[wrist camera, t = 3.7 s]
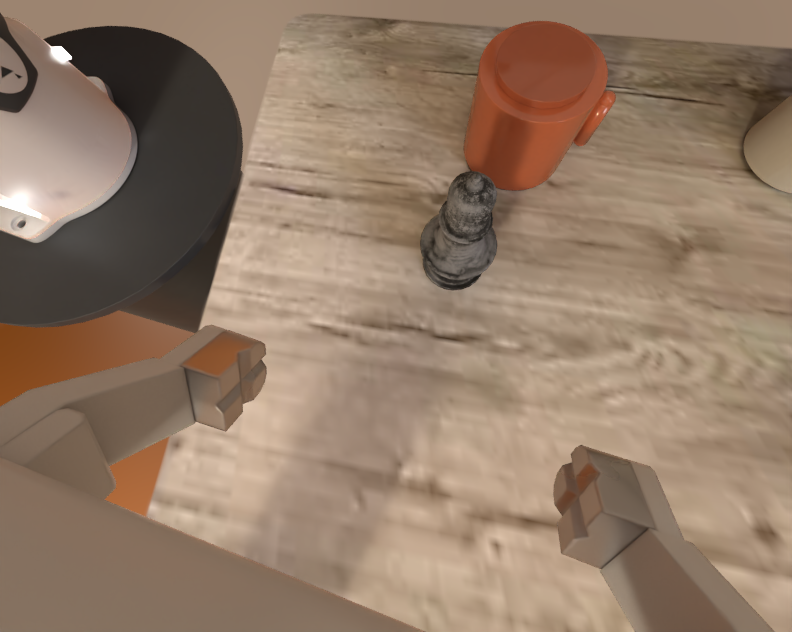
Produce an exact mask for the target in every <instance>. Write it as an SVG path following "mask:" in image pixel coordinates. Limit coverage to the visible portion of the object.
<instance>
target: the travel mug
mask: <svg viewBox="0 0 792 632" xmlns="http://www.w3.org/2000/svg"><path fill="white" fill-rule="evenodd" d="M744 154H745V158H746V160H747V163H748V164H749V166H750V168H751V169H752V171H753V172H754V173H755V174H756V175H757V176H758V177H759V178H760V179H761V180H763V181H764V182H765V183H767V184H769V185H770V186H772V187H774V188H776V189H779V190H781V191H784V192H788V193H792V95H791V96H790V97H788V98H787V99H786V100H785V101H783V102H782V103H781V104H780V105H779V106H777V107H776V108H775V109H774V110H772V111H771V112H770V113H769V114H767V115H766V116H765V117H764V118H762V119H761V120H760V121H759V122H757V123H756V124H755V125H754V126H753V127H752V128H751V129H750V130H749V131H748V133H747V135H746V137H745V140H744Z"/></svg>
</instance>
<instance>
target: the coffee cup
mask: <svg viewBox="0 0 792 632" xmlns="http://www.w3.org/2000/svg"><path fill="white" fill-rule="evenodd" d="M607 78H608V68H607V64H606V60H605V58H604V55H603V53H602V52H601V50H600V49H599V47H598V46H597V45H596V43H595V42H594V41H593V40H591V39H590V38H589V37H588V36H587V35H585V34H584V33H582V32H581V31H579V30H577V29H575V28H573V27H571V26H567V25H565V24H561V23H557V22H550V21H533V22H526V23H521V24H518V25H515V26H512V27H510V28H508V29H506V30H504V31H502V32H501V33H500V34H498V35H497V36H496V37H495V38H494V39H492V40H491V42H490V43H489V44H488V45H487V47H486V48H485V50H484V52H483V54H482V56H481V59H480V64H479V69H478V74H477V79H476V84H475V89H474V94H473V99H472V104H471V109H470V115H469V120H468V125H467V130H466V135H465V140H464V154H465V158H466V161H467V163H468V165H469V167H470V169H471V170H472V171H476V172H480V173H483V174H485V175H486V176H488V177H489V178H490V179H491V180H492V181H493V183H494V185H495V187H496V188H500V189H504V190H524V189H529V188H532V187H535V186H537V185H539V184H541V183H543V182H544V181H546V180H547V179H548V178H549V177H550V176H551V175H552V174H553V173H554V172H555V170H556V169H557V167H558V166H559V164H560V163H561V161H562V159H563V158H564V156H565V154H566V153H567V151H568V150H569V148H570V146H571V145H572V143H573V142H574V143H575V144H576V145H577V146H583V145H585V144H586V143H587V142H588V141H589V139H590V138H591V136H592V135H593V133H594V132H595V130H596V129H597V127H598V126H599V124H600V123H601V121H602V120H603V119H604V117H605V116H606V114H607V113H608V111H609V110H610V108H611V107H612V105H613V104H614V102H615V99H616V95H615V93H614V92H613V91H610V90H608V91H605V92H604V90H605V88H606V84H607Z"/></svg>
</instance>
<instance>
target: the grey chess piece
mask: <svg viewBox="0 0 792 632" xmlns="http://www.w3.org/2000/svg"><path fill="white" fill-rule="evenodd" d="M496 196H497V191H496V187H495V185H494V183H493V181H492V180H491V179H490V178H489V177H488V176H486V175H485V174H483V173H480V172H476V171H470V172H465V173H462V174H460V175H459V176H457V177H456V178H455V179H454V180H453V182H452V183H451V185H450V188H449V192H448V198H447V201H446V202H445V203H444V204H443V205H442V207H441V209H440V211H439V214H438V215H437V216H435V217H434V218H432V219H431V220H430V221H429V223H428V224H427V225H426V226H425V228H424V230H423V232H422V235H421V241H420V246H421V253H422V256H423V265H424V270H425V272H426V275H427V276H428V277H429V279H430V280H431V281H432V282H433V283H435V284H436V285H437V286H439V287H442V288H444V289H448V290H461V289H464V288H467V287H469V286H471V285H472V284H473V283H475V282H476V281H477V280H478V278H479V277H480V276H481V274H482V272H484V271H485V270H486V269H487V268H488V267H489V266H490V265H491V263H492V262H493V260H494V257H495V255H496V250H497V240H496V235H495V233H494V231H493V228H492V223H493V216H492V209H493V207H494V205H495V202H496Z"/></svg>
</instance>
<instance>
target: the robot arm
mask: <svg viewBox="0 0 792 632" xmlns="http://www.w3.org/2000/svg"><path fill="white" fill-rule="evenodd" d="M67 60H71V56H70V55H69V54H68V53H67V52H66V51H65V50H64V49H63V48H62V47H51V46H50V45H49V44H48V43H47V42H45V41H44V40H43V39H42V38H41V37H40V36H38V35H37V34H36V33H35V32H34V31H32V30H31V29H30V28H29V27H28V26H26V25H25V24H24V23H22V22H21V21H19V20H16V19H14V18H12V19H11V18H8V17H3V16H2V15H1V13H0V231H3V232H6V233H8V234H11V235H14V236H16V237H19V238H22V239H24V240H27V241H30V242H33V243H39V242H42V241H44V240H46V239H47V238H49V237H50V236H51V235H53V234H54V233H55V232H56V231H57V230H58V229H60V228H61V227H62V226H63V225H64V224H66V223H67V222H69V221H71V220H73V219H76V218H78V217H80V216H83V215H85V214H87V213H89V212H91V211H93V210H95V209H96V208H98V207H99V206H101V205H102V204H104V203H105V202H106V201H107V200H109V199H110V198H111V197H112V196H113V195H114V194H115V193H116V192H117V191H118V190H119V189H120V187H121V186H122V185H123V183H124V182H125V181H126V179H127V177H128V176H129V174H130V172H131V170H132V168H133V165H134V162H135V159H136V154H137V144H138V143H137V134H136V130H135V128H134V125H133V123H132V122H131V120H130V119H129V117H128V116H127V115H126V114H125V113H124V112H123V111H122V110H121V109H120V108H119V107H118V106H117V105H116V104H115V102H114V99H113V95H112V92H111V90H110V88H109V86H108V85H106V84H105V83H104V82H103V81H102V80H101V79H99V78H98V77H86V76H85V75H84V74H82V73H81V72H80V71H79V70H78V69H77V68H76V67H74V66H73V65H72V64H71V63H70V62H69V61H67ZM265 355H266V348H265V344H264V343H262V342H261V341H258V340H255V339H252V338H249V337H247V336H244V335H241V334H238V333H235V332H232V331H230V330H225V329H223V328H220V327H217V326H214V325H208V326H205V327H204V328H202V329H201V330H199V331H198V332H197V333H195V334H194V335H193V336H191V337H190V338H188V339H187V340H186V341H184V342H183V343H181V344H180V345H179V346H177V347H176V348H174V349H173V350H172V351H170V352H169V353H167V354H166V355H165V356H163V357H162V358H161V359H157V358H150V359H146V360H143V361H139V362H135V363H131V364H127V365H123V366H119V367H116V368H112V369H108V370H104V371H100V372H96V373H93V374H89V375H85V376H81V377H77V378H73V379H69V380H66V381H62V382H58V383H54V384H51V385H47V386H43V387H39V388H35V389H31V390H28V391H26V392H24V393H23V394H21V395H19V396H18V397H16V398H14V399H12V400H11V401H9V402H7V403H6V404H4V405H2V406H1V407H0V632H425V631H423V630H420V629H418V628H415V627H413V626H410V625H408V624H406V623H403V622H401V621H398V620H396V619H393V618H391V617H389V616H386V615H384V614H381V613H379V612H376V611H374V610H372V609H369V608H367V607H364V606H362V605H359V604H357V603H355V602H352V601H350V600H347V599H345V598H342V597H340V596H337V595H335V594H333V593H330V592H328V591H325V590H323V589H320V588H318V587H316V586H313V585H311V584H308V583H306V582H303V581H301V580H299V579H296V578H294V577H291V576H289V575H286V574H284V573H282V572H279V571H277V570H274V569H272V568H269V567H267V566H264V565H262V564H260V563H257V562H255V561H252V560H250V559H247V558H245V557H243V556H240V555H238V554H235V553H233V552H230V551H228V550H226V549H223V548H221V547H218V546H216V545H213V544H211V543H208V542H206V541H204V540H201V539H199V538H196V537H194V536H191V535H189V534H187V533H184V532H182V531H179V530H177V529H174V528H172V527H169V526H167V525H165V524H162V523H160V522H157V521H155V520H152V519H150V518H148V517H145V516H143V515H140V514H137V513H135V512H133V511H130V510H128V509H125V508H123V507H121V506H118V505H116V504H113V503H111V502H108V501H106V500H104V499H105V498H106V497H107V496H108V495H109V494H110V493H111V492H112V491H113V490H114V489H115V487H116V481H115V478H114V476H113V474H112V472H111V470H110V467H109V466H110V465H112V464H114V463H116V462H118V461H120V460H122V459H125V458H127V457H129V456H131V455H132V454H134V453H136V452H139V451H141V450H143V449H145V448H146V447H148V446H151V445H153V444H155V443H157V442H159V441H161V440H163V439H165V438H167V437H169V436H171V435H173V434H175V433H177V432H179V431H181V430H183V429H185V428H187V427H189V426H191V425H193V424H195V421H196V422H199V423H202V424H205V425H208V426H211V427H214V428H217V429H220V430H223V431H227V430H228V429H229V427H230V426H231V425H232V424H233V423H234V422H235V421H236V419H237V418H238V417H239V416H240V415H241V414H242V412H243V404H244V403H247V402H249V401H252V400H254V398H255V397H256V396H257V395H258V394H259V392H260V391H261V389H262V387H263V385H264V383H265V379H266V374H267V373H266V366H265V364H264V363H263V361H262V360H261V359H262V358H263V357H264V356H265ZM571 458H572V463H569V464H566V465H563V466H562V467H561V469H560V470H559V472H558V473H557V475H556V479H555V482H554V492H553V495H554V504H555V506H556V507H557V509H558V510H559V512H560V513H561V515H562V518H561V519H560V520H559V522H558V523H557V526H558V533H559V541H560V548H561V554H564V555H566V556H569V557H571V558H574V559H576V560H579V561H581V562H584V563H587V564H589V565H592V566H594V567H597V568H599V569H601V570H600V572H601V574H602V575H603V577H604V579H605V581H606V582H607V584H608V586H609V587H610V589H611V591H612V593H613V594H614V596H615V598H616V599H617V601H618V603H619V605H620V606H621V608H622V610H623V612H624V613H625V615H626V617H627V618H628V620H629V622H630V624H631V625H632V627H633V629H634V631H635V632H775V631H774V630H773V629H772V628H771V627H770V626H769V625H768V624H767V623H766V622H765V621H764V620H763V619H762V618H761V616H760V615H759V614H758V613H757V612H756V611H755V610H754V609H753V608H752V607H751V606H750V605H749V604H748V602H747V601H746V600H745V599H744V598H743V597H742V596H741V595H740V594H739V593H738V592H737V591H736V590H735V588H734V587H733V586H732V585H731V584H730V583H729V582H728V581H727V580H726V579H725V578H724V577H723V576H722V574H721V573H720V572H719V571H718V570H717V569H716V568H715V567H714V566H713V565H712V564H711V563H710V562H709V561H708V559H707V558H706V557H705V556H704V555H703V554H702V553H701V552H700V551H699V550H698V549H697V548H696V547H695V545H694V544H693V543H691V542H688V541H685V540H684V538H683V536H682V534H681V531H680V529H679V527H678V524H677V522H676V520H675V517H674V515H673V513H672V510H671V508H670V506H669V503H668V501H667V499H666V496H665V494H664V492H663V489H662V487H661V485H660V482H659V480H658V478H657V475H656V473H655V471H654V470H653V469H652V468H651V467H650V466H647V465H644V464H640V463H637V462H634V461H631V460H628V459H623V458H621V457H618V456H614V455H611V454H608V453H605V452H602V451H599V450H595V449H592V448H589V447H586V446H583V445H580V446H578V447H576V448H575V449H574V451H573V452H572V453H571Z"/></svg>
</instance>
